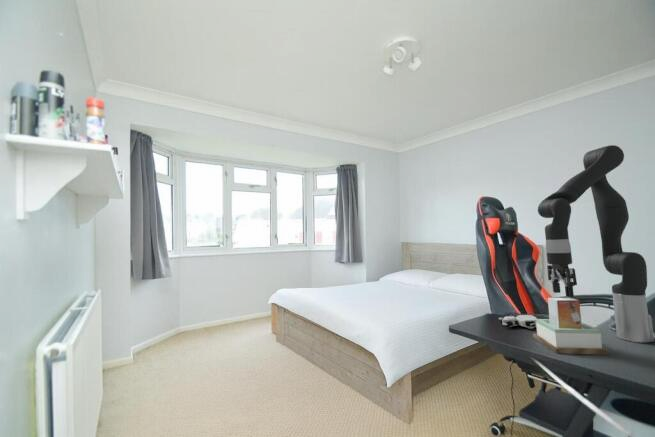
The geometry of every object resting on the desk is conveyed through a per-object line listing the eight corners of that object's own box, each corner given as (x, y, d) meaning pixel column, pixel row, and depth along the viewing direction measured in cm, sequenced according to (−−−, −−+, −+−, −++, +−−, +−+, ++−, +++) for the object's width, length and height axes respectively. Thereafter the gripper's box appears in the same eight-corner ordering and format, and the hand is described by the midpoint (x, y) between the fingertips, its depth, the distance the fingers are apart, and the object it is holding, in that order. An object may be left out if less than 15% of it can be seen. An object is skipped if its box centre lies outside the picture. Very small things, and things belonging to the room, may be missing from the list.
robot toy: (504, 331, 134) (543, 331, 129) (502, 321, 134) (541, 320, 129) (498, 323, 145) (534, 323, 140) (497, 314, 146) (533, 313, 141)
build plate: (578, 338, 119) (577, 334, 119) (609, 354, 102) (608, 350, 102) (533, 337, 122) (532, 333, 122) (556, 353, 105) (555, 348, 105)
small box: (559, 329, 111) (556, 300, 111) (549, 325, 116) (547, 297, 117) (582, 329, 110) (579, 299, 110) (571, 324, 115) (569, 297, 116)
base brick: (577, 335, 118) (575, 319, 118) (602, 348, 104) (600, 330, 105) (537, 334, 120) (535, 319, 121) (556, 347, 107) (554, 329, 107)
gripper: (581, 251, 107) (586, 298, 106) (559, 250, 121) (563, 291, 120) (557, 252, 108) (562, 298, 107) (538, 251, 122) (542, 291, 121)
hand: (563, 294), depth 113 cm, fingers open, 8 cm apart
